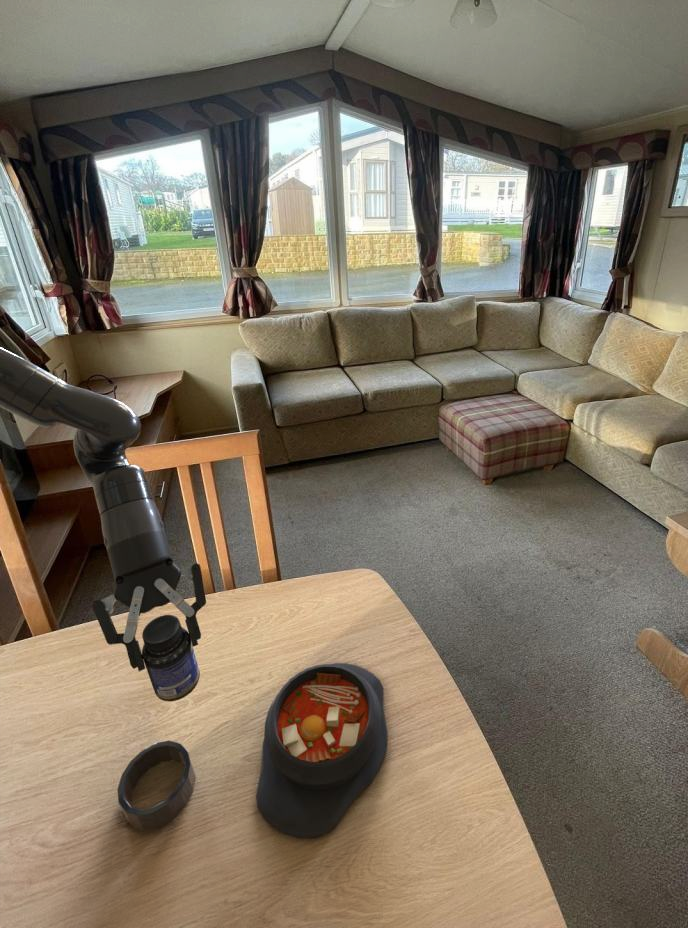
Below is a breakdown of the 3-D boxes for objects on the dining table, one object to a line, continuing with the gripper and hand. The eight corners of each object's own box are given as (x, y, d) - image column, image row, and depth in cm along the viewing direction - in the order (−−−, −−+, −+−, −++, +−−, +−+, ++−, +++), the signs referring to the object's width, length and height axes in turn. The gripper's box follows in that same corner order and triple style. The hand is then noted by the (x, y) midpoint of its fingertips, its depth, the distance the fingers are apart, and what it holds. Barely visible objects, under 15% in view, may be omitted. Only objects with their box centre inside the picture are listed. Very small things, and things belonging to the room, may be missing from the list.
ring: (117, 841, 63) (107, 821, 61) (138, 767, 71) (129, 746, 69) (189, 828, 64) (182, 807, 62) (201, 756, 72) (195, 735, 70)
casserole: (308, 658, 86) (304, 625, 83) (408, 688, 81) (408, 654, 77) (225, 814, 65) (214, 779, 62) (352, 870, 60) (349, 835, 56)
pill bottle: (209, 676, 70) (195, 622, 65) (172, 712, 65) (154, 656, 60) (182, 656, 73) (167, 603, 68) (145, 689, 68) (126, 634, 63)
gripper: (188, 525, 75) (221, 633, 71) (82, 560, 68) (112, 682, 64) (189, 515, 69) (225, 633, 65) (72, 553, 62) (105, 687, 58)
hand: (169, 657), depth 64 cm, fingers closed on pill bottle, 6 cm apart
